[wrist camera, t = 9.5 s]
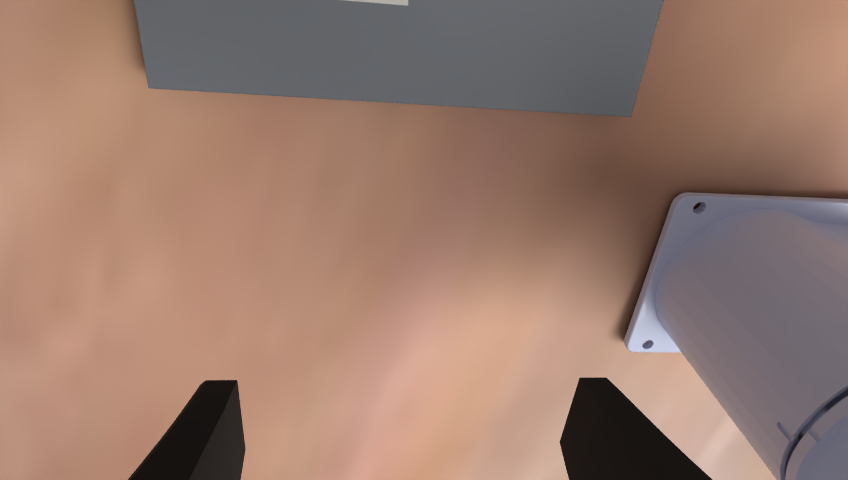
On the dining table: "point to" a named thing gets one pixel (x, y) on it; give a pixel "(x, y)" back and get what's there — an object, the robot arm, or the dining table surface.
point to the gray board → (406, 50)
